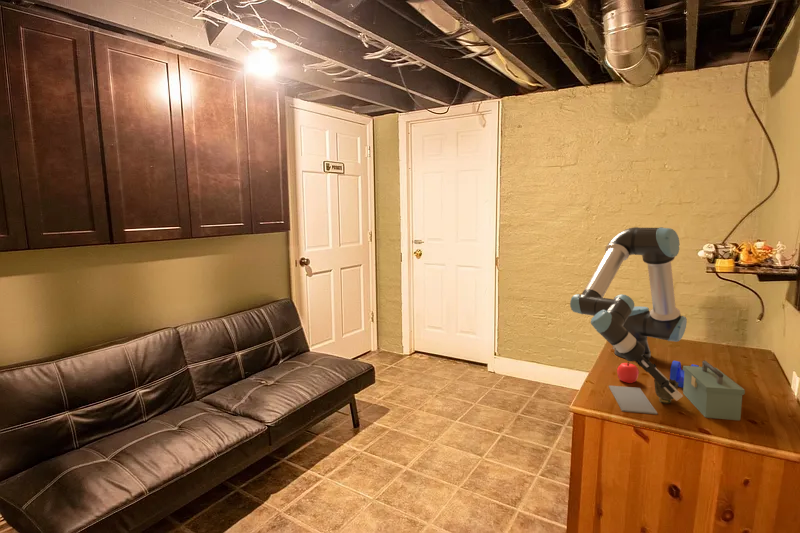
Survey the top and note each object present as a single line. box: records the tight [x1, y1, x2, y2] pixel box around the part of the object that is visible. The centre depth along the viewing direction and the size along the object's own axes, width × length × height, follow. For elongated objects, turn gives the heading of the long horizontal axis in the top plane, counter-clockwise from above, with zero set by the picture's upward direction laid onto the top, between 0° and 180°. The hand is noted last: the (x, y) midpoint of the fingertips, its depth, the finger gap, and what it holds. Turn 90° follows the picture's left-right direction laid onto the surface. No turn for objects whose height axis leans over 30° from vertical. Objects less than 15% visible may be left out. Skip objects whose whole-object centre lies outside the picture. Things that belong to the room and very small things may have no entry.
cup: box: [653, 378, 679, 405], centre depth 157 cm, size 8×7×8 cm
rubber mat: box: [608, 385, 659, 415], centre depth 161 cm, size 22×11×1 cm, turn 166°
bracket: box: [669, 360, 700, 389], centre depth 177 cm, size 18×8×9 cm, turn 136°
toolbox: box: [682, 360, 746, 421], centre depth 153 cm, size 21×11×14 cm, turn 166°
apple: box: [616, 361, 640, 384], centre depth 178 cm, size 8×8×8 cm
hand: (672, 390), depth 157 cm, fingers open, 13 cm apart
